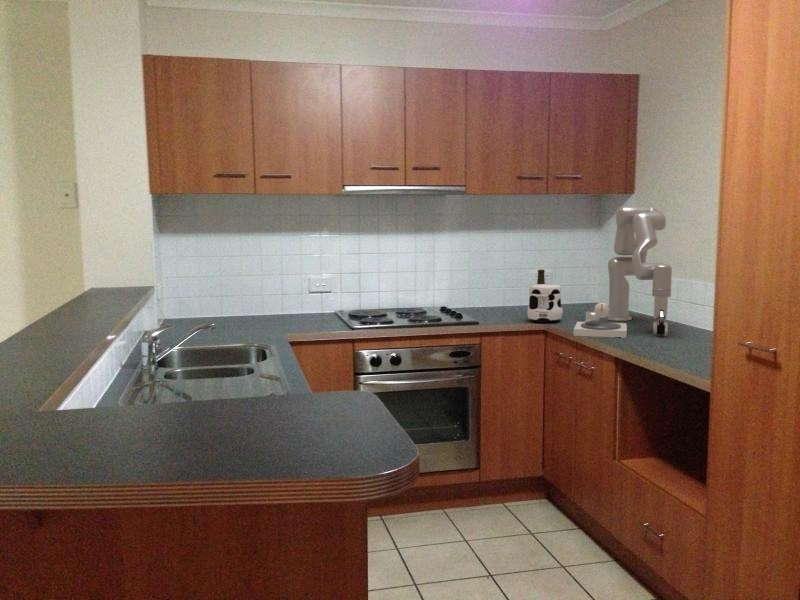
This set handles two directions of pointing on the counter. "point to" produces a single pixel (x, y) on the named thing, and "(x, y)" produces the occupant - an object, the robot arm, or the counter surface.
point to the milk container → (544, 303)
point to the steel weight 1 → (592, 318)
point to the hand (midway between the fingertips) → (660, 332)
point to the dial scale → (601, 325)
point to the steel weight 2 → (656, 329)
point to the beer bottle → (541, 277)
